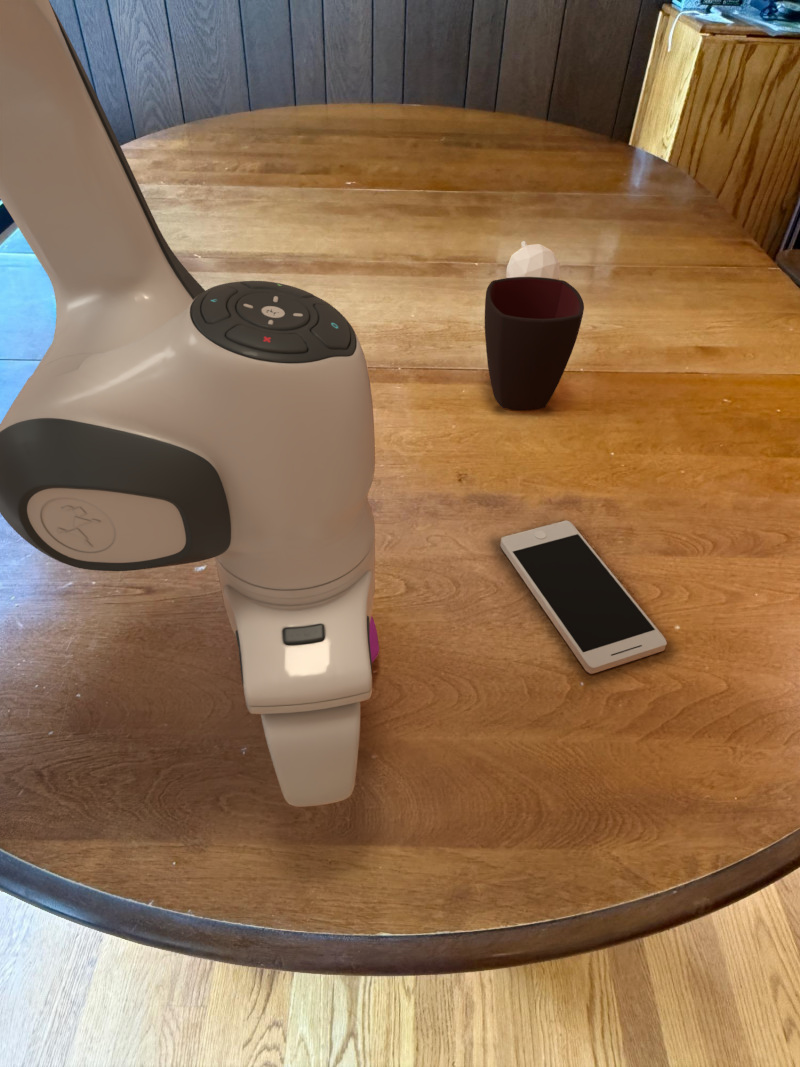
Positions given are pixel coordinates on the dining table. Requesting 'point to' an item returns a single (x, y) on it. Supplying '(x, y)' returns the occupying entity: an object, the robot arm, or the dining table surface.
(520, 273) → the ornament
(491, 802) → the dining table surface
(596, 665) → the smartphone
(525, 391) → the cup
